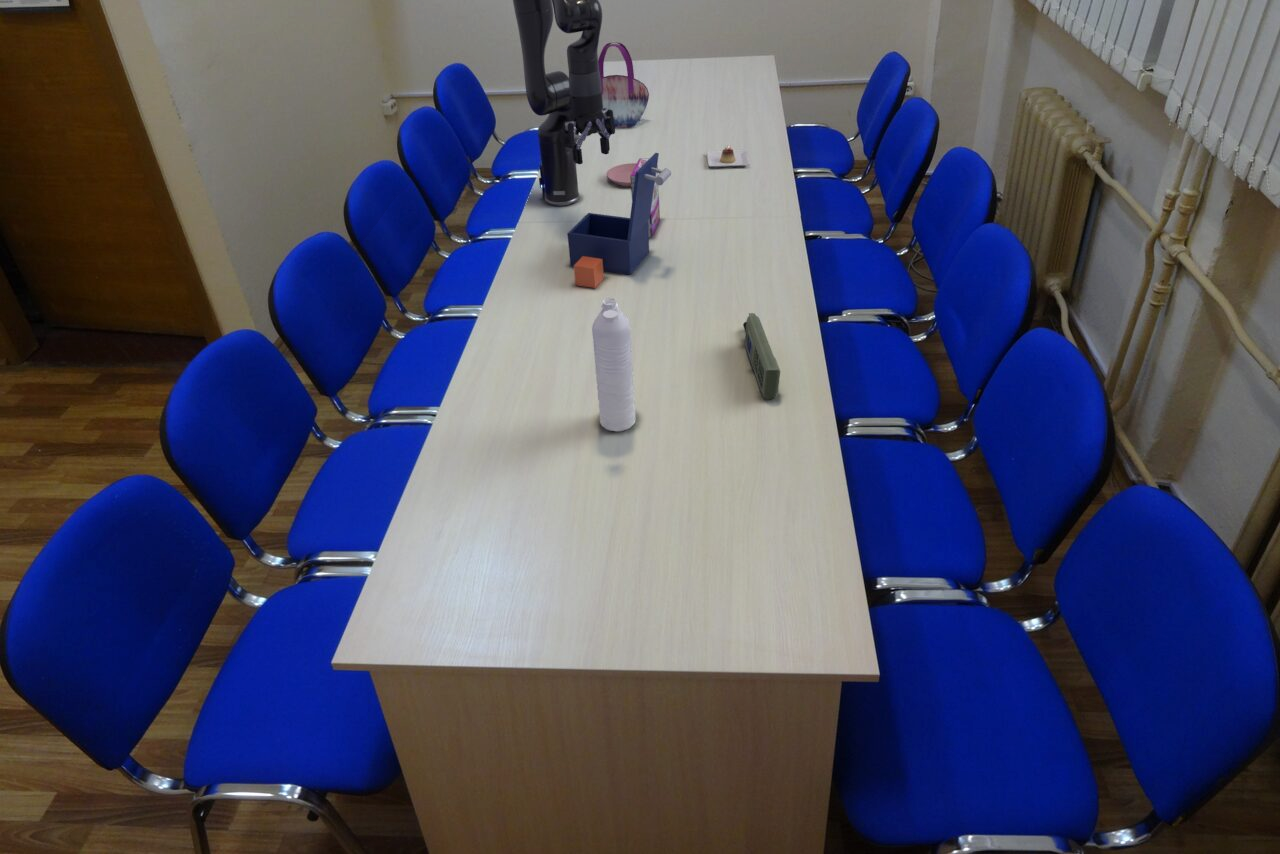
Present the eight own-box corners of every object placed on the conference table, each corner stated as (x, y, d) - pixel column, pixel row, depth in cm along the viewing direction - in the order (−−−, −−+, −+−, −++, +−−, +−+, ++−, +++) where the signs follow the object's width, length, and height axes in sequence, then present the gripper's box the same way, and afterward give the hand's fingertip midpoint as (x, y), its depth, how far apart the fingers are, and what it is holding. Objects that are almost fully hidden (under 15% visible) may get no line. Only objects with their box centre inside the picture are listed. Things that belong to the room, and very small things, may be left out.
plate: (665, 174, 247) (665, 168, 245) (639, 192, 237) (639, 185, 236) (624, 166, 253) (624, 160, 252) (597, 183, 244) (596, 176, 242)
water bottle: (599, 411, 158) (589, 292, 143) (634, 409, 158) (628, 289, 143) (600, 441, 151) (590, 319, 136) (637, 438, 151) (630, 316, 136)
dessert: (749, 168, 248) (750, 151, 245) (708, 169, 248) (708, 153, 246) (746, 153, 257) (746, 137, 255) (706, 154, 258) (706, 138, 255)
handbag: (583, 128, 281) (577, 48, 265) (587, 118, 288) (581, 39, 273) (648, 127, 279) (646, 46, 263) (650, 117, 286) (648, 38, 271)
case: (570, 265, 205) (567, 233, 199) (591, 243, 213) (588, 212, 208) (630, 274, 200) (628, 242, 195) (649, 252, 208) (648, 220, 203)
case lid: (635, 172, 184) (659, 178, 182) (655, 152, 192) (677, 158, 191) (627, 239, 194) (649, 246, 193) (646, 218, 203) (667, 224, 202)
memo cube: (575, 285, 197) (573, 265, 194) (584, 275, 200) (582, 255, 197) (595, 288, 195) (593, 268, 192) (604, 278, 199) (602, 258, 196)
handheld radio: (760, 400, 159) (737, 329, 178) (778, 399, 159) (752, 329, 179) (764, 370, 155) (739, 301, 174) (782, 369, 155) (755, 301, 175)
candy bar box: (641, 218, 224) (638, 157, 214) (660, 219, 223) (658, 158, 213) (632, 237, 215) (629, 174, 205) (652, 238, 214) (649, 175, 204)
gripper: (598, 80, 206) (603, 147, 216) (552, 95, 199) (560, 163, 209) (618, 85, 202) (623, 153, 212) (572, 100, 194) (579, 170, 204)
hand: (592, 158), depth 210 cm, fingers open, 8 cm apart
